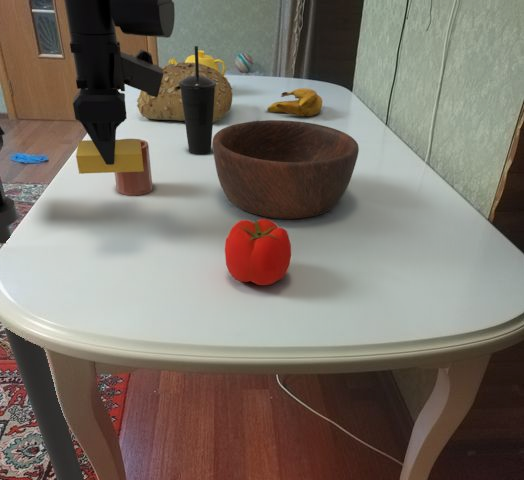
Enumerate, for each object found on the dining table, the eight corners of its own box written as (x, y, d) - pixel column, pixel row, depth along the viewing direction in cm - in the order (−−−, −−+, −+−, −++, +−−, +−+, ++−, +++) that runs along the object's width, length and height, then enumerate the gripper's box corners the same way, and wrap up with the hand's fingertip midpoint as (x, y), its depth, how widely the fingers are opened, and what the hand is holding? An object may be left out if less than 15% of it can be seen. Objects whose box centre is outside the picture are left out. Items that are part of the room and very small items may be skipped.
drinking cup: (223, 149, 113) (222, 46, 100) (206, 159, 107) (203, 51, 95) (194, 143, 115) (189, 41, 103) (175, 152, 110) (168, 46, 97)
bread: (235, 106, 143) (235, 58, 136) (229, 127, 126) (229, 73, 119) (149, 102, 143) (145, 53, 136) (132, 122, 126) (125, 68, 119)
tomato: (220, 263, 73) (219, 214, 68) (280, 259, 74) (283, 210, 70) (232, 299, 66) (232, 246, 61) (298, 292, 67) (303, 241, 63)
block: (79, 173, 72) (75, 155, 70) (81, 157, 77) (78, 140, 75) (143, 171, 73) (141, 154, 72) (141, 155, 79) (140, 139, 77)
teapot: (208, 85, 162) (207, 45, 155) (232, 94, 154) (232, 52, 147) (169, 90, 155) (165, 48, 148) (191, 100, 147) (189, 56, 140)
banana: (316, 103, 149) (318, 82, 145) (326, 121, 134) (329, 98, 131) (264, 102, 148) (265, 80, 144) (269, 120, 133) (270, 96, 130)
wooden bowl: (329, 172, 104) (335, 119, 98) (369, 224, 85) (380, 162, 78) (207, 174, 100) (206, 119, 94) (221, 230, 81) (220, 166, 75)
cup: (117, 196, 90) (110, 150, 85) (116, 183, 95) (110, 139, 90) (153, 194, 91) (149, 149, 86) (151, 181, 96) (146, 137, 91)
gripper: (161, 44, 59) (170, 176, 69) (152, 23, 73) (161, 135, 83) (61, 43, 57) (85, 179, 67) (72, 21, 71) (91, 137, 81)
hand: (110, 155), depth 74 cm, fingers closed on block, 7 cm apart
